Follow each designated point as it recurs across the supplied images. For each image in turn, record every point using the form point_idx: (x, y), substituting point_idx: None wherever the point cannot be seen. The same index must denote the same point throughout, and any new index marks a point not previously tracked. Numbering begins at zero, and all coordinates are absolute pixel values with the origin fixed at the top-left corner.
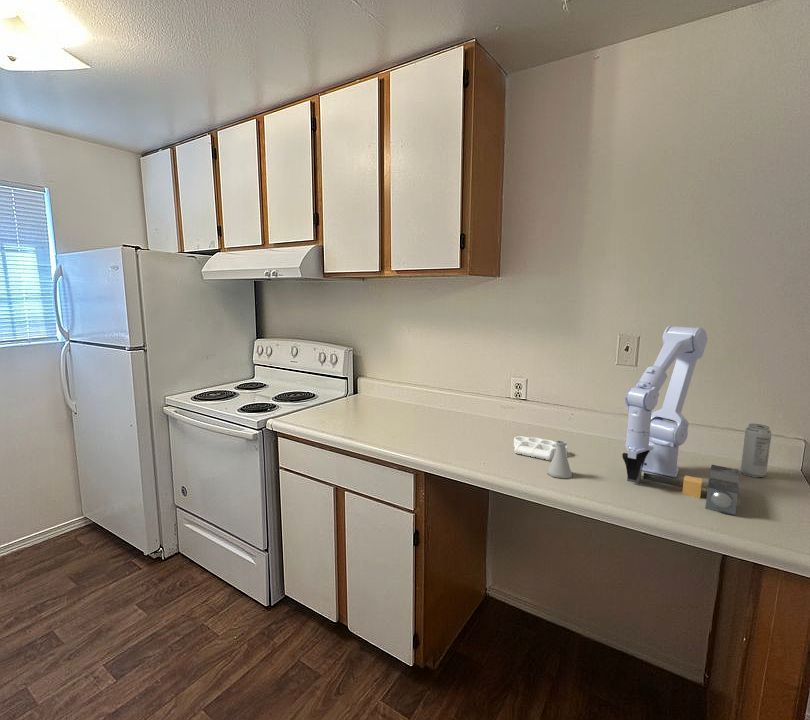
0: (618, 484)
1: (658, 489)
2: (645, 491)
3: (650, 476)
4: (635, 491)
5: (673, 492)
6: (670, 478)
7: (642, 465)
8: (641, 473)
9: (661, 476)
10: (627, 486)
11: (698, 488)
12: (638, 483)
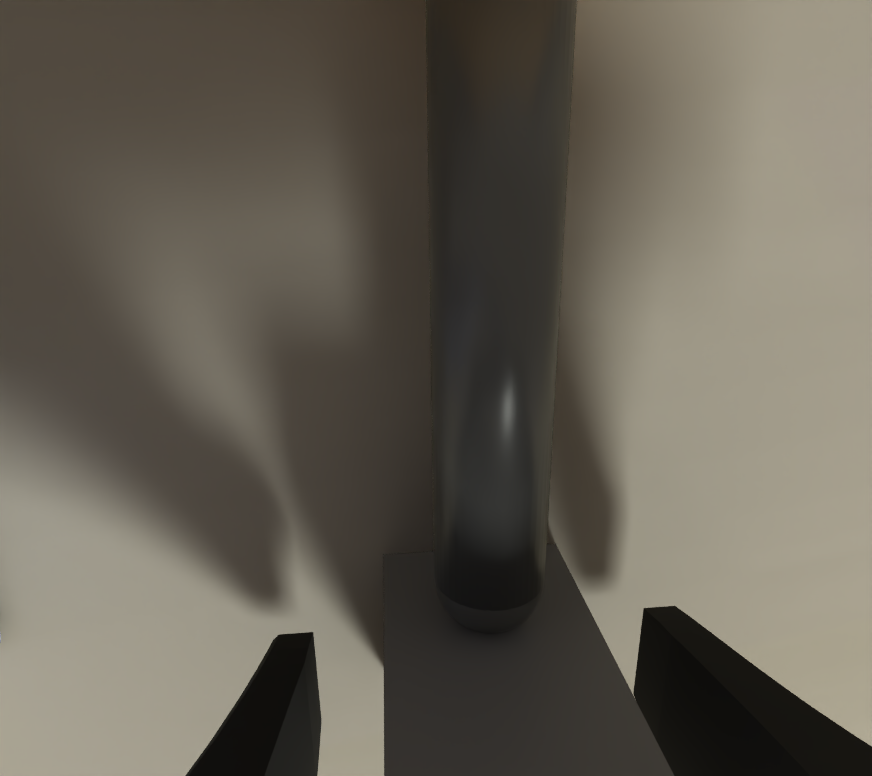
0: None
1: (619, 297)
2: (786, 425)
3: (544, 489)
4: (843, 516)
5: (615, 77)
6: (511, 138)
7: (277, 734)
8: (513, 628)
9: (504, 325)
10: (729, 617)
11: None
12: (556, 548)
